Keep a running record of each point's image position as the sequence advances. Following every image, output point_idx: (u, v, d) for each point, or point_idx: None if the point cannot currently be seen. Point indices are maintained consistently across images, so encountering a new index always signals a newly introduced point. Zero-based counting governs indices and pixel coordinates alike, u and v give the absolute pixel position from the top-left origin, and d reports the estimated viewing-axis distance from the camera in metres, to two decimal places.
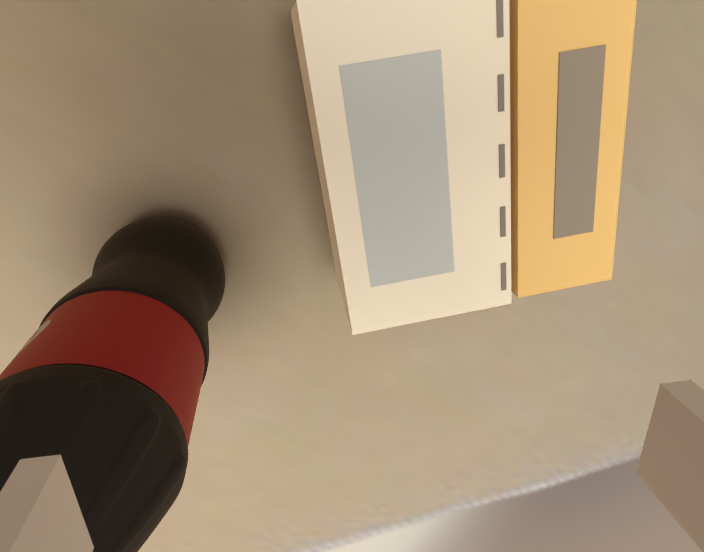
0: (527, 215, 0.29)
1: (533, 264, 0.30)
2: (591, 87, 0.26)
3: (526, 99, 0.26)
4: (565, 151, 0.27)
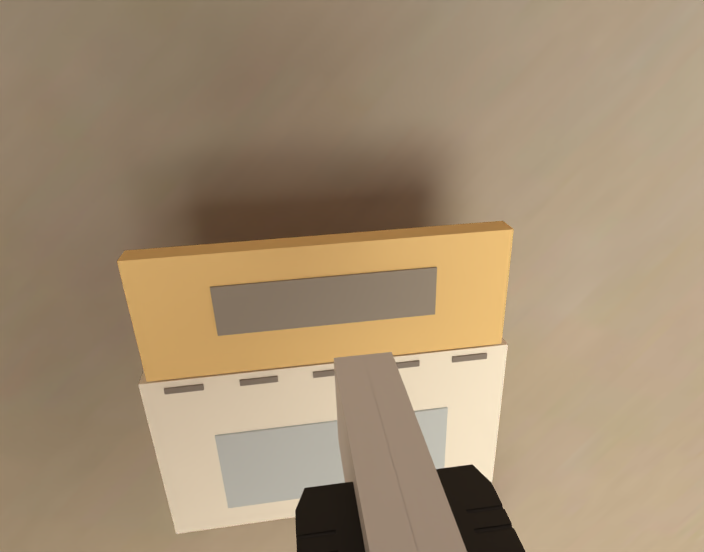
0: (398, 345, 0.24)
1: (462, 331, 0.25)
2: (256, 296, 0.22)
3: (266, 360, 0.24)
4: (328, 315, 0.23)
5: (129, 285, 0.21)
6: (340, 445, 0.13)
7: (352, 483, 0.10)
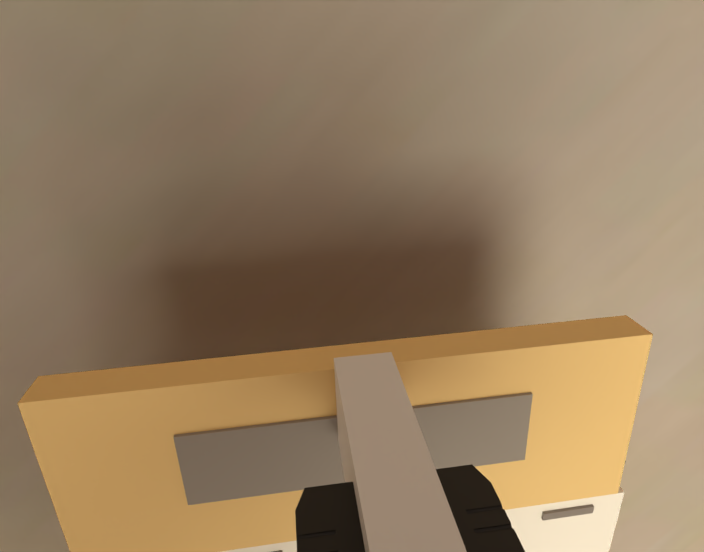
0: None
1: (563, 479, 0.16)
2: (249, 447, 0.14)
3: (264, 534, 0.15)
4: None
5: (40, 438, 0.13)
6: (340, 445, 0.13)
7: (352, 483, 0.10)
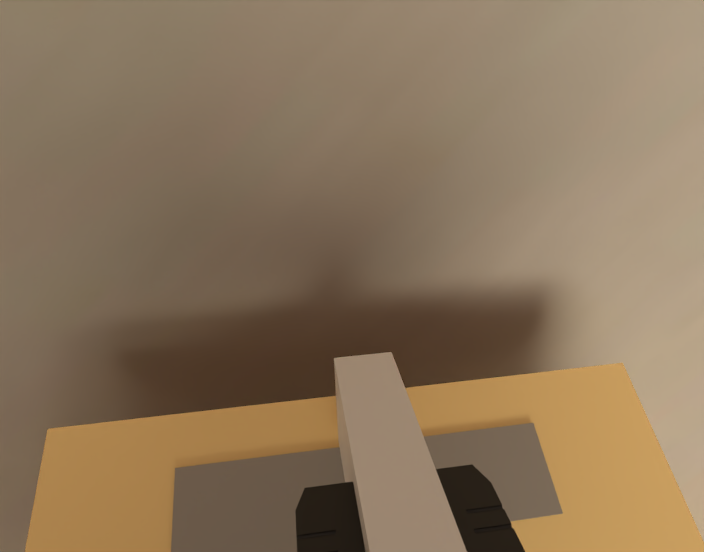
0: None
1: None
2: (249, 483, 0.13)
3: None
4: None
5: (49, 470, 0.13)
6: (340, 445, 0.13)
7: (352, 483, 0.10)
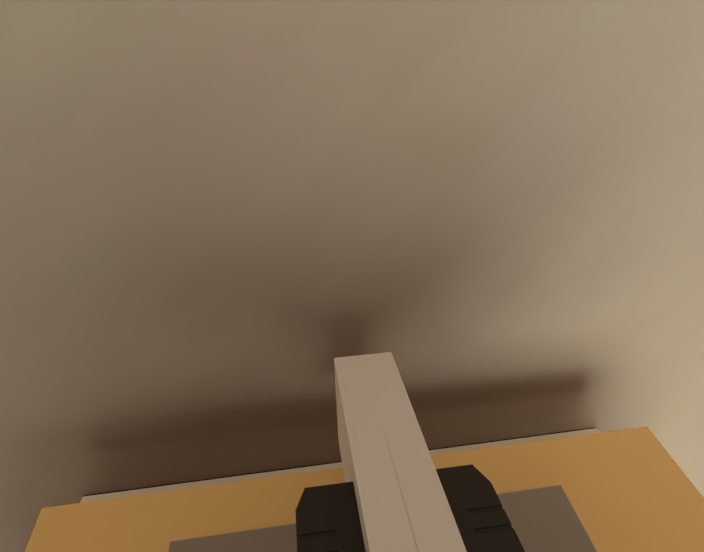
0: None
1: None
2: None
3: None
4: None
5: (35, 550, 0.12)
6: (340, 445, 0.13)
7: (352, 483, 0.10)
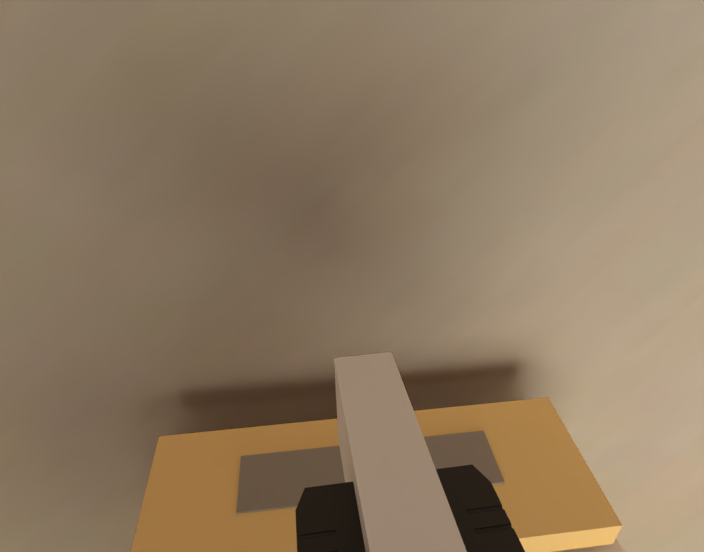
0: None
1: (554, 507, 0.18)
2: (289, 464, 0.20)
3: None
4: None
5: (159, 458, 0.20)
6: (340, 445, 0.13)
7: (352, 483, 0.10)
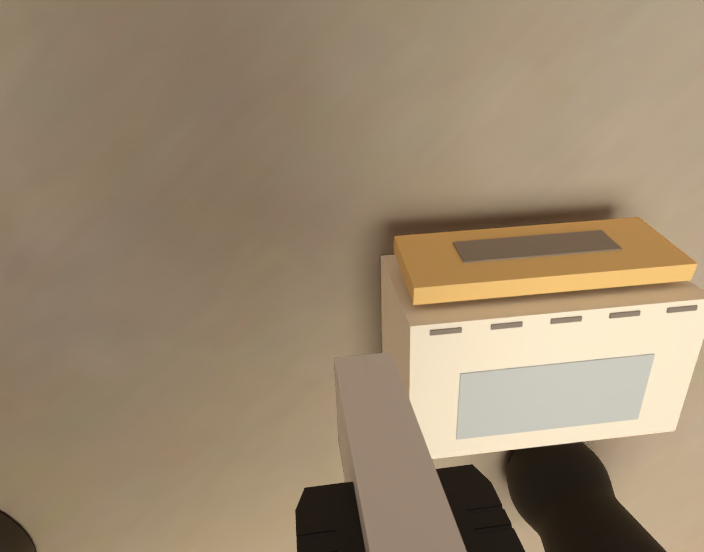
0: (608, 265, 0.30)
1: (655, 257, 0.30)
2: (485, 244, 0.32)
3: (505, 275, 0.29)
4: (540, 250, 0.31)
5: (401, 244, 0.32)
6: (340, 445, 0.13)
7: (352, 483, 0.10)
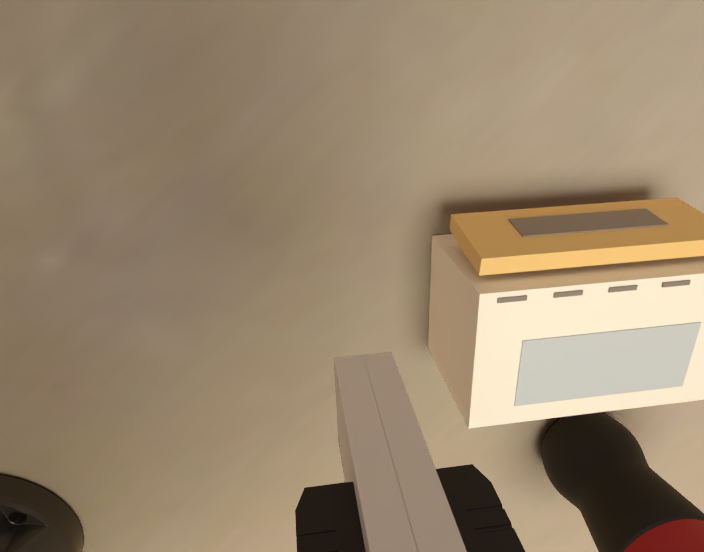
0: (659, 238, 0.32)
1: (700, 232, 0.33)
2: (539, 221, 0.34)
3: (565, 247, 0.31)
4: (593, 226, 0.33)
5: (459, 221, 0.34)
6: (340, 445, 0.13)
7: (352, 483, 0.10)
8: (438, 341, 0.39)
